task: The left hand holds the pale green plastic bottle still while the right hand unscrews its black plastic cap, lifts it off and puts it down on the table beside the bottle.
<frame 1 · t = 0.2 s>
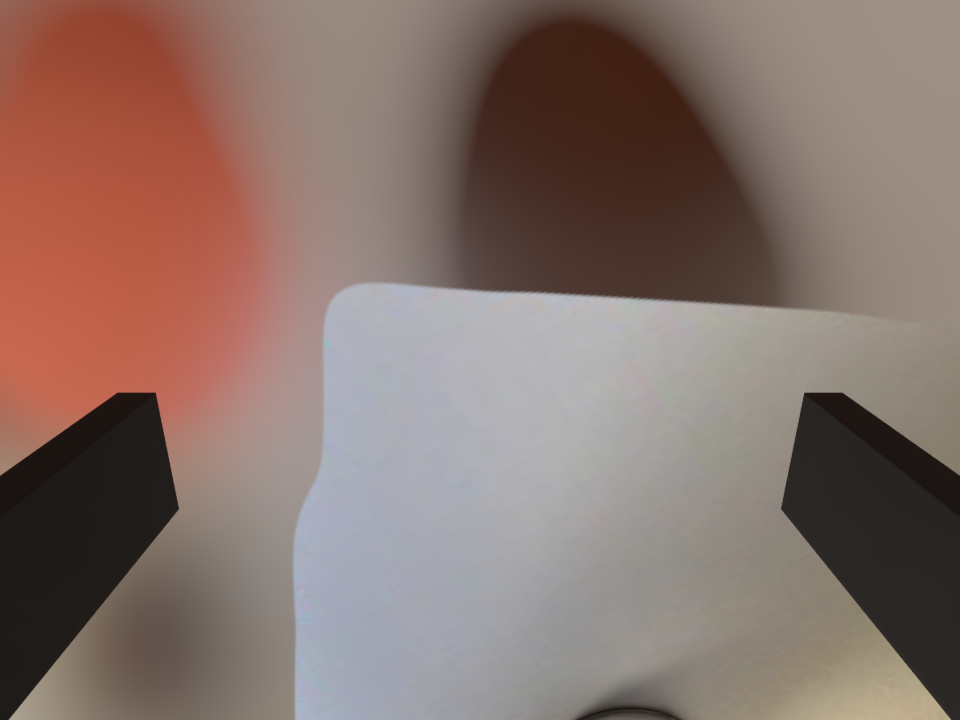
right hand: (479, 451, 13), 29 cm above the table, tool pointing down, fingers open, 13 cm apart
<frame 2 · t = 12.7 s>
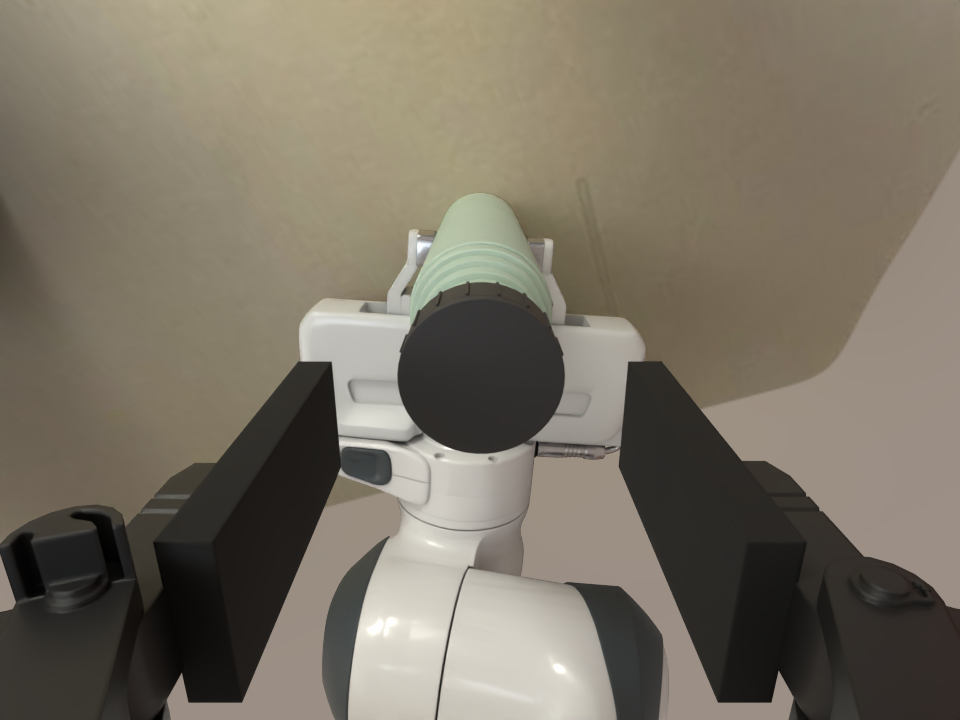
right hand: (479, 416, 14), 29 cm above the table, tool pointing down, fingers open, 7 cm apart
left hand: (480, 234, 34), fingers closed on bottle, 5 cm apart
bottle: (480, 233, 41), on the table, touching left hand
cap: (481, 376, 17), point 26 cm above the table, screwed on, not yet turned
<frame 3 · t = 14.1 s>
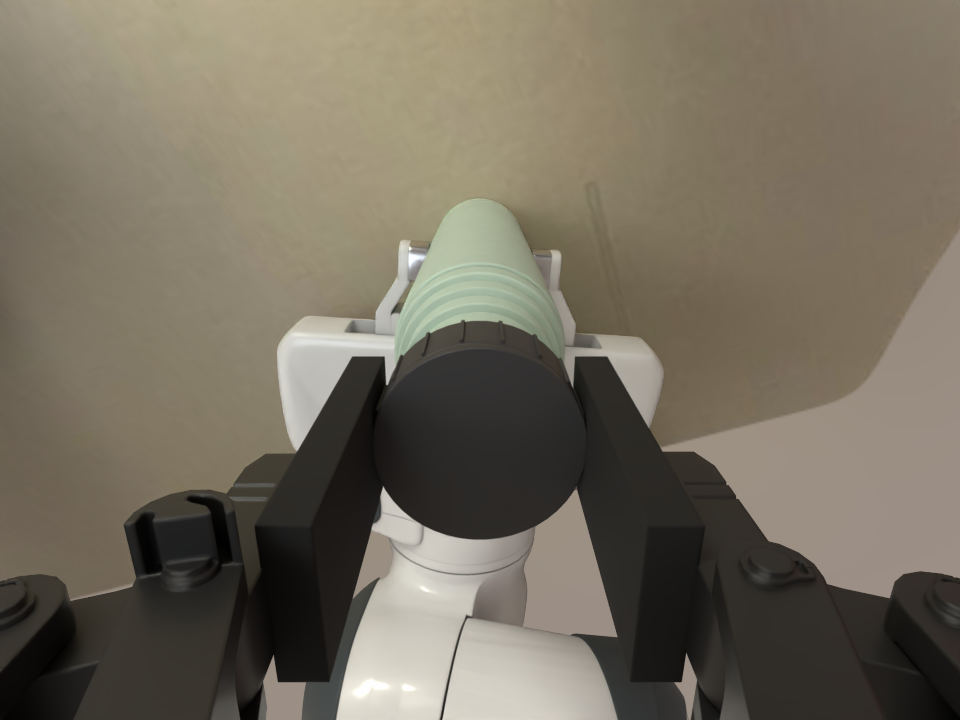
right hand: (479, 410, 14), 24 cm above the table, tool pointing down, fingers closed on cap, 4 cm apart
left hand: (479, 246, 31), fingers closed on bottle, 5 cm apart
bottle: (479, 242, 37), on the table, touching left hand
cap: (479, 443, 13), point 26 cm above the table, screwed on, not yet turned, touching right hand
when the right hand's fingers open (2 cm above the table, at t = 33.6 s): cap drops 2 cm, point 2 cm above the table.
when the left hand's fingers open (7 cm above the table, at t = 34.9 s): bottle stays where it is, on the table.
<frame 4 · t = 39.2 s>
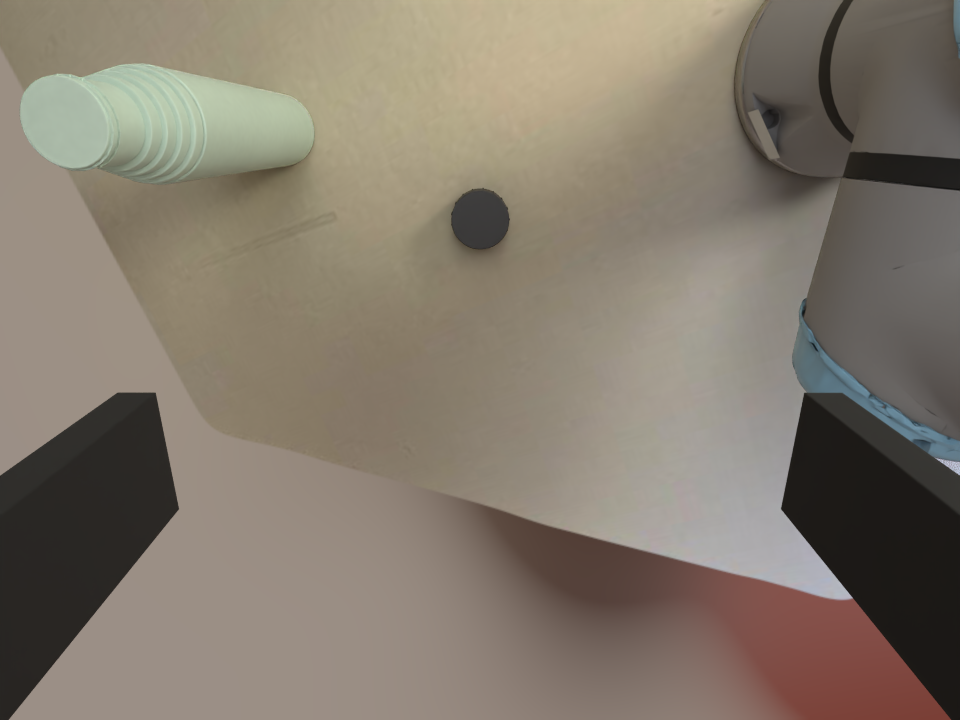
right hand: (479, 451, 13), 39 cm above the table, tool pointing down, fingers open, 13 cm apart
bottle: (280, 130, 47), on the table
cap: (480, 219, 48), point 2 cm above the table, off its thread
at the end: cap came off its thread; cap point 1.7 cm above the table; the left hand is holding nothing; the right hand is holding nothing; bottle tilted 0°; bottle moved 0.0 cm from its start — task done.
